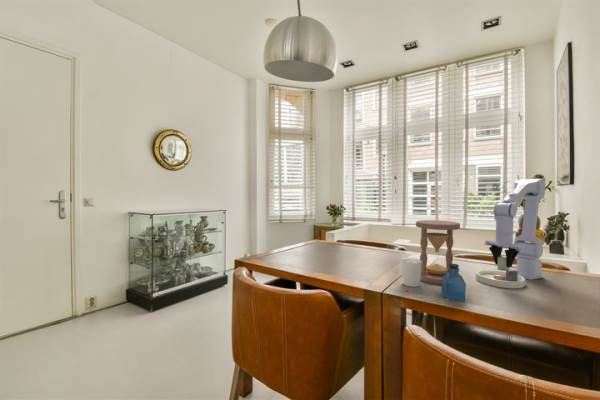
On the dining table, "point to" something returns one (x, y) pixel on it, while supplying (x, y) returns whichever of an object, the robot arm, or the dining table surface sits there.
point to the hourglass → (437, 240)
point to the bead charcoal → (512, 275)
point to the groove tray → (498, 279)
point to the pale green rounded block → (502, 264)
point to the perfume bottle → (453, 284)
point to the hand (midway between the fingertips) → (503, 265)
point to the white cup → (411, 272)
